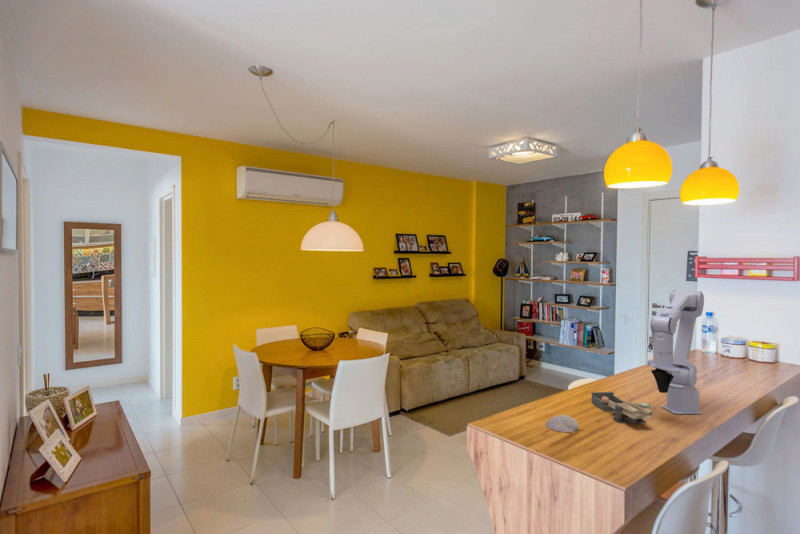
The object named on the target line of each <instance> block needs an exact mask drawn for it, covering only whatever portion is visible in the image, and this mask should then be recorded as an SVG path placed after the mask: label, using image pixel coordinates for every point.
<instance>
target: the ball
mask: <svg viewBox="0 0 800 534" xmlns="http://www.w3.org/2000/svg"><path fill="white" fill-rule="evenodd" d="M601 400H602V401H603V402H604V406H608V405H609V403H608V400H609V398H608V397H606V396H603V397H602V398H601Z"/></svg>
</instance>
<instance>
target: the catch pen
mask: <svg viewBox="0 0 800 534" xmlns="http://www.w3.org/2000/svg"><path fill="white" fill-rule="evenodd" d="M603 396H606V397H608V398H609V400H611V401H613V402H615V403H623V399H621V398H619V397H618V396H616V395H615V393H614V391H602V392H601V391H599V392H598V391H597V392H595V391H593V392H592V391H591V403H592V405H594V406H595V407H597V408H598V409H600V410H601V411H602V412H615V409H613V408H611V407H609V405H604V402H603V401H602V400H601V398H602V397H603Z"/></svg>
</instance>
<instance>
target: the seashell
mask: <svg viewBox="0 0 800 534" xmlns="http://www.w3.org/2000/svg"><path fill="white" fill-rule="evenodd" d="M545 426H546V427H547V428H548V429H549V430H552V431H555V432H559V433H563V434H564V433H574V432H575V431H578V430H579V428H580V427H579V423H578V422H577V420H576V419H575V418H574V417H572V416H569V415H568V414H560V415H559V414H558V415H554V416H553V417H551V418H549V419H548V420H547V421H546V422H545Z"/></svg>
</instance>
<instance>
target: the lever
mask: <svg viewBox="0 0 800 534" xmlns="http://www.w3.org/2000/svg"><path fill="white" fill-rule="evenodd" d="M622 400H623V399H622ZM637 405H639V406H641V407H643V408H641V407H639V406H637ZM608 406H609V407H611V408H613V409H615V406H619V407H620V408H621V414H623V415H625V416H626V417H627V416H628V417H631V418H633V419H643V420H644V419H645V420H647V419H649V420H650V419H651V420H652V419H653V412H652V410H651V408H652V405H651V404H649V403H647V402H637V403H636V402H635V403H634V402H633V403H632V402H630V401H627V400H625V399H624V400H623V403H615V402H613V401H611V400H608Z"/></svg>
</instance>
